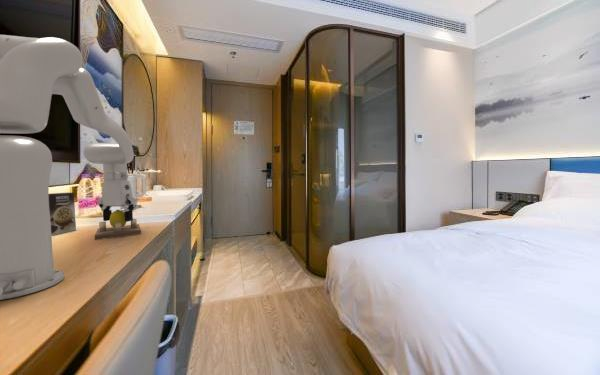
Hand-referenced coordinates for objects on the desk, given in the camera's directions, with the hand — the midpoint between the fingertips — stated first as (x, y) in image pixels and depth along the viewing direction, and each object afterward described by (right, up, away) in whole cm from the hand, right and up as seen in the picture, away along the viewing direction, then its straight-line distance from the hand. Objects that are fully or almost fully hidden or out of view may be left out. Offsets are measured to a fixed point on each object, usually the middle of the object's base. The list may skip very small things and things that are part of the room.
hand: (118, 220), depth 100 cm
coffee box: (-26, -5, +2) cm, 26 cm away
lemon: (0, -4, 0) cm, 4 cm away
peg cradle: (0, -5, 0) cm, 5 cm away
